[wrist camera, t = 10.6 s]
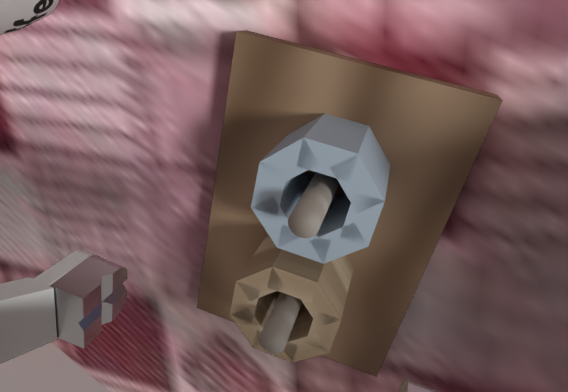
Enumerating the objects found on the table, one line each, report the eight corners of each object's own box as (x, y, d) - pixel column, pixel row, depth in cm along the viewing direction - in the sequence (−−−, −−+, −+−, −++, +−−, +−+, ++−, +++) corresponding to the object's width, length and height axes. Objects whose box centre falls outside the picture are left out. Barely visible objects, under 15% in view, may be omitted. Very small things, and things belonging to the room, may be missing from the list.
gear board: (496, 94, 21) (542, 139, 14) (377, 360, 30) (366, 474, 23) (246, 30, 23) (167, 38, 16) (205, 295, 32) (143, 380, 25)
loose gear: (401, 134, 22) (398, 165, 17) (367, 228, 24) (357, 275, 20) (294, 104, 23) (266, 126, 18) (274, 198, 25) (245, 236, 21)
